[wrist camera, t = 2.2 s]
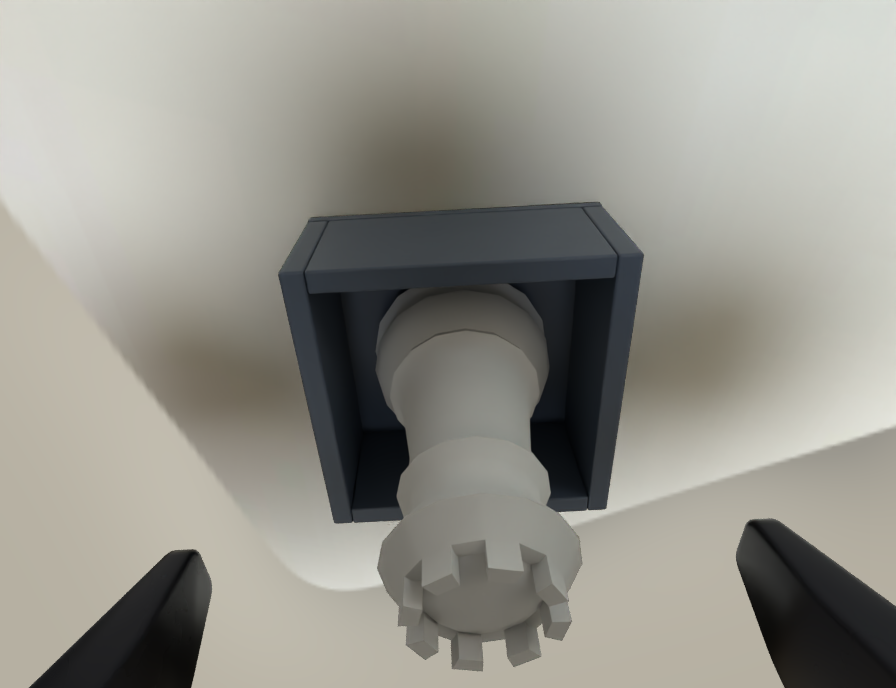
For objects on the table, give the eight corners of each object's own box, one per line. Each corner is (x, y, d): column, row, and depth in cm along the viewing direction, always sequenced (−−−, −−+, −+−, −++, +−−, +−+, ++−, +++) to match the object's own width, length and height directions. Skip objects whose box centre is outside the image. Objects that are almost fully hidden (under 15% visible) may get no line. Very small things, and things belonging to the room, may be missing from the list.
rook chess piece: (563, 375, 15) (668, 663, 9) (418, 425, 16) (410, 725, 9) (511, 236, 13) (595, 474, 6) (347, 301, 14) (268, 576, 7)
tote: (350, 438, 17) (333, 524, 14) (309, 217, 13) (276, 273, 10) (577, 426, 17) (606, 510, 14) (599, 201, 13) (645, 253, 10)
